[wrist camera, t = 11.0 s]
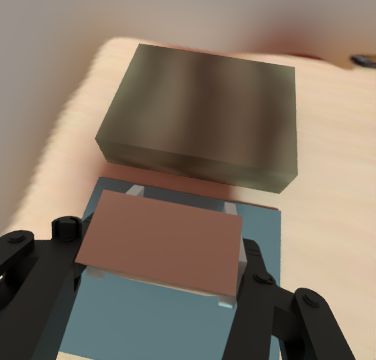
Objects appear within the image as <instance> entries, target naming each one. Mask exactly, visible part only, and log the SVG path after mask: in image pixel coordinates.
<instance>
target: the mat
mask: <svg viewBox="0 0 376 360" xmlns="http://www.w3.org/2000/svg"><path fill="white" fill-rule="evenodd" d="M134 185H138V186H144V195H143V197H145V198H150V199H155V200H160V201H166V202H171V203H176V204H181V205H186V206H192V207H197V208H202V209H207V210H212V211H217V212H223V208H224V204H225V202H227V203H233V204H235V205H236V210H237V215H238V216H243V218H242V229H241V234H242V238H246V239H251V240H254V241H255V242H256V243H257V244H258V245H259V247H260V250H261V254H262V257H263V260H264V263H265V266H266V270H267V272H268V273H269V274H271V275H272V276H273V277H274V279H275V280H276V285H278V286H279V287H280V246H281V211H278V210H273V209H267V208H262V207H257V206H252V205H246V204H241V203H236V202H231V201H225V200H220V199H215V198H210V197H204V196H199V195H194V194H189V193H183V192H178V191H173V190H167V189H162V188H157V187H152V186H146V185H141V184H136V183H131V182H125V181H120V180H115V179H110V178H104V177H99V179H98V181H97V183H96V186H95V188H94V191H93V193H92V195H91V198H90V200H89V203H88V205H87V207H86V210H85V212H84V215H83V217H82V219H81V220H82V221H83V220H84V219H86V218H87V217H88V216H89V215H90V214H91V213H93V212H95V210H96V207H97V205H98V202H99V200H100V197H101V195H102V192H103V190H109V191H114V192H119V193H124V194H125V193H126V192H127V191H128V190H129V189H130V188H131V187H133V186H134ZM236 309H237V302H236V303H235V306H234V308H229V307H224V306H220V305H218V296H204V295H199V294H195V293H190V292H185V291H181V290H176V289H172V288H167V287H162V286H158V285H153V284H148V283H144V282H139V281H135V280H130V279H127V278H123V277H120V276H117V275H114V274H111V273H108V272H106V273H105V274H104V276H103V277H102V279H96V278H92V277H87V268H86V269H85V270H84V271H83V273H82V278H81V284H80V287H79V290H78V293H77V296H76V299H75V302H74V305H73V309H72V312H71V315H70V318H69V321H68V324H67V327H66V330H65V333H64V336H63V339H62V342H61V346H60V349H59V351H60V352H64V353H69V354H73V355H77V356H81V357H85V358H89V359H94V360H222V356H223V353H224V349H225V346H226V343H227V339H228V336H229V333H230V329H231V326H232V322H233V319H234V316H235V312H236ZM269 360H279V341H278V338H276V337H274V336H272V335H271V345H270V355H269Z"/></svg>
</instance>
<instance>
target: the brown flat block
mask: <svg viewBox="0 0 376 360" xmlns="http://www.w3.org/2000/svg"><path fill="white" fill-rule="evenodd" d="M95 140H96V142H97V143H98V145H99V147H100V149H101V151H102V153H103V154H104V156H105V158H106V160H107V162H111V163H117V164H122V165H127V166H133V167H138V168H144V169H149V170H154V171H160V172H165V173H170V174H176V175H181V176H187V177H192V178H197V179H203V180H208V181H213V182H219V183H224V184H230V185H235V186H240V187H246V188H251V189H256V190H262V191H267V192H273V193H278V194H280V193H281V192H282V191H283V190H284V189H285V188H286V187H287V186H288V185H289V184H290V182H291V181H292V180H293V179H294V178H295V177H296V176H297V175H298V169H297V131H296V94H295V67H290V66H284V65H277V64H270V63H264V62H257V61H251V60H244V59H238V58H231V57H225V56H218V55H212V54H205V53H198V52H192V51H185V50H179V49H172V48H166V47H159V46H153V45H146V44H140V43H139V45H138V47H137V50H136V52H135V54H134V56H133V58H132V60H131V62H130V65H129V67H128V69H127V71H126V73H125V75H124V77H123V80H122V82H121V84H120V86H119V88H118V90H117V92H116V94H115V97H114V99H113V101H112V103H111V105H110V107H109V109H108V112H107V114H106V116H105V118H104V120H103V122H102V124H101V127H100V129H99V131H98V133H97V135H96V137H95Z"/></svg>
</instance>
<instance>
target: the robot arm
mask: <svg viewBox="0 0 376 360" xmlns="http://www.w3.org/2000/svg"><path fill="white" fill-rule="evenodd" d="M125 194H129V195H135V196H140V197H143V195H144V186H138V185H134V186H133V187H131V188H130V189H129V190H128V191H127V192H126V193H125ZM223 213H228V214H233V215H237V210H236V205H235V204H233V203H227V202H225V204H224V208H223ZM93 215H94V212H93V213H91V214H90V215H89V216H88V217H87V218H86V219H84V220H83V221H82V220H81V219H80V218H78V217H74V216H64V217H60V218H57V219H55V220H54V221H52V238H51V240H34V234H33V233H32V232H30V231H25V230H19V231H13V232H10V233H7V234H5V235H3V236H2V237H0V276H1V275H2V276H3V277H2V278H1V279H0V360H56V358H57V355H58V352H59V349H60V346H61V342H62V339H63V336H64V333H65V330H66V327H67V324H68V321H69V318H70V315H71V312H72V309H73V305H74V302H75V299H76V296H77V293H78V290H79V287H80V284H81V278H82V273H83V271H84V270H85V269H86V268H87V277H92V278H96V279H102V277H103V276H104V274H105V273H106V272H105V271H102V270H99V269H96V268H93V267H90V266H87V265H84V264H81V263H77V262H75V260H76V257H77V255H78V252H79V250H80V247H81V245H82V242H83V240H84V237H85V235H86V232H87V230H88V227H89V225H90V222H91V220H92V217H93ZM236 302H237V309H236V312H235V316H234V319H233V322H232V326H231V329H230V333H229V336H228V339H227V343H226V346H225V349H224V353H223V356H222V360H269V355H270V345H271V335H272V336H274V337H276V338H278V341H279V346H280V351H281V356H282V360H356V359H355V357H354V355H353V353H352V351H351V349H350V347H349V345H348V343H347V341H346V339H345V337H344V335H343V333H342V331H341V329H340V327H339V325H338V323H337V321H336V319H335V317H334V315H333V313H332V311H331V309H330V307H329V305H328V303H327V302H326V301H325V299H324V298H323V297H322V296H320V295H319V294H318V293H316V292H315V291H313V290H310V289H307V288H298V289H297V290H296V291H295V293H292V292H290V291H287V290H285V289H283V288H281V287H279V286H278V285H276V280H275V279H274V277H273V276H272V275H271V274H269V273H268V272H267V270H266V266H265V263H264V260H263V257H262V254H261V250H260V247H259V245H258V244H257V243H256V242H255V241H254V240H251V239H246V238H242V234H241V240H240V252H239V263H238V274H237V285H236V296H218V305H220V306H224V307H229V308H234V306H235V303H236Z"/></svg>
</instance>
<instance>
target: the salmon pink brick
mask: <svg viewBox="0 0 376 360" xmlns="http://www.w3.org/2000/svg"><path fill="white" fill-rule="evenodd" d="M242 218H243V216H238V215H233V214H228V213H223V212H217V211H212V210H207V209H202V208H197V207H192V206H186V205H181V204H176V203H171V202H166V201H160V200H155V199H150V198H145V197H140V196H135V195H129V194H124V193H119V192H114V191H109V190H103V192H102V195H101V197H100V200H99V202H98V205H97V207H96V210H95V212H94V215H93V217H92V220H91V222H90V225H89V227H88V230H87V232H86V235H85V237H84V240H83V242H82V245H81V247H80V250H79V252H78V255H77V257H76V260H75V262H77V263H81V264H84V265H87V266H90V267H93V268H96V269H99V270H102V271H105V272H108V273H111V274H114V275H117V276H120V277H123V278H127V279H130V280H135V281H139V282H144V283H148V284H153V285H158V286H162V287H167V288H172V289H176V290H181V291H185V292H190V293H195V294H199V295H204V296H236V285H237V274H238V263H239V252H240V240H241V229H242Z"/></svg>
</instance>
